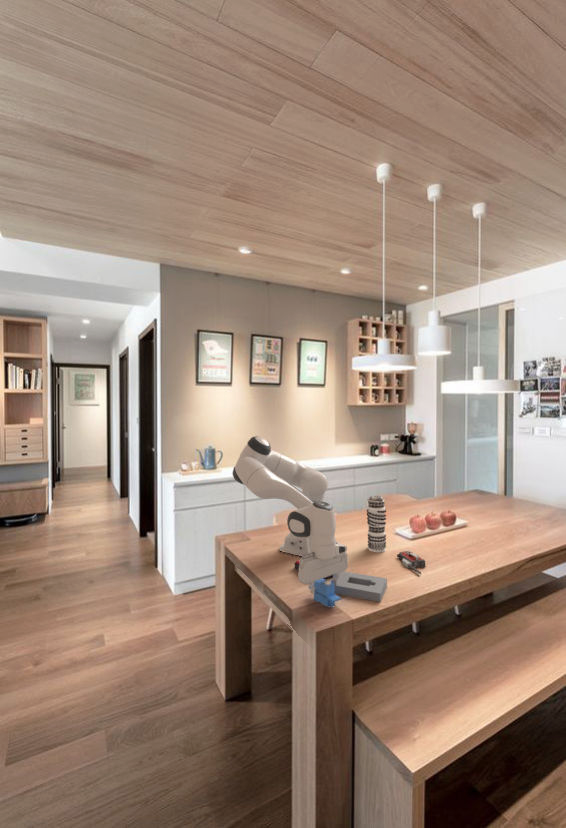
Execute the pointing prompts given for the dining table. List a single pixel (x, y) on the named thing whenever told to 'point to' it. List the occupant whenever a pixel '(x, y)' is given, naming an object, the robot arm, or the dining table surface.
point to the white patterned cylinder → (376, 524)
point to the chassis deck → (361, 586)
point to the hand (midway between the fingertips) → (323, 588)
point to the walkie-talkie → (411, 560)
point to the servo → (325, 592)
